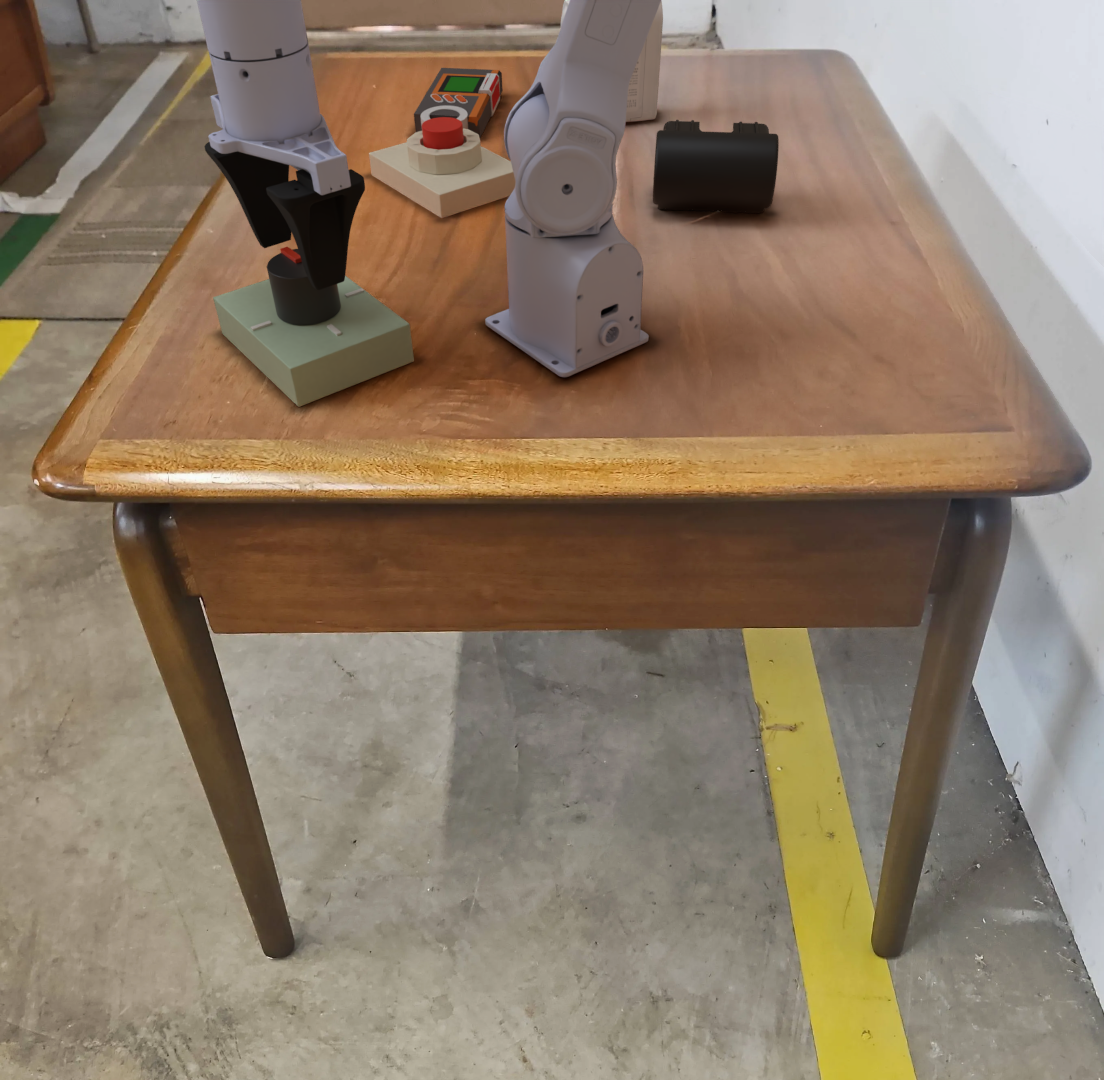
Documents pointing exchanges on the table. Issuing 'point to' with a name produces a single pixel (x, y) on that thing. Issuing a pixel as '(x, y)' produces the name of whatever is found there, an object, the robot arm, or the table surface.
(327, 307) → the dial
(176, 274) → the table surface
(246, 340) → the dial panel
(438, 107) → the electronic device
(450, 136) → the power button
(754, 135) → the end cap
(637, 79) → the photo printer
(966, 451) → the table surface
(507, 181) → the button box
